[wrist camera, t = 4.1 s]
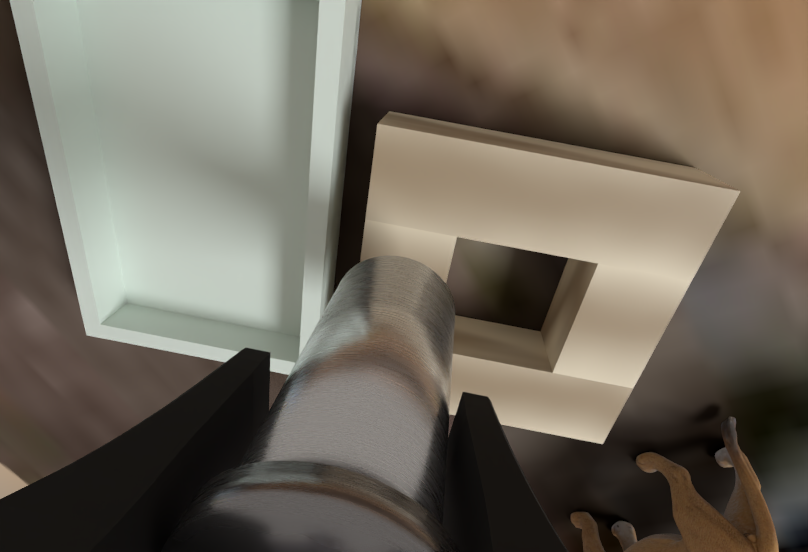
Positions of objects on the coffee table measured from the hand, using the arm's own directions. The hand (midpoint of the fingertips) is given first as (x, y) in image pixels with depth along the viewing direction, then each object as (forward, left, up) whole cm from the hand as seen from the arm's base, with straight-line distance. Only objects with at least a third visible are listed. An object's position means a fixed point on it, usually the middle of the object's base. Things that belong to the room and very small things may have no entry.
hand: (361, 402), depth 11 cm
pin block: (-1, -5, -10) cm, 11 cm away
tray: (+1, +8, -10) cm, 13 cm away
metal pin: (0, 0, -4) cm, 4 cm away
